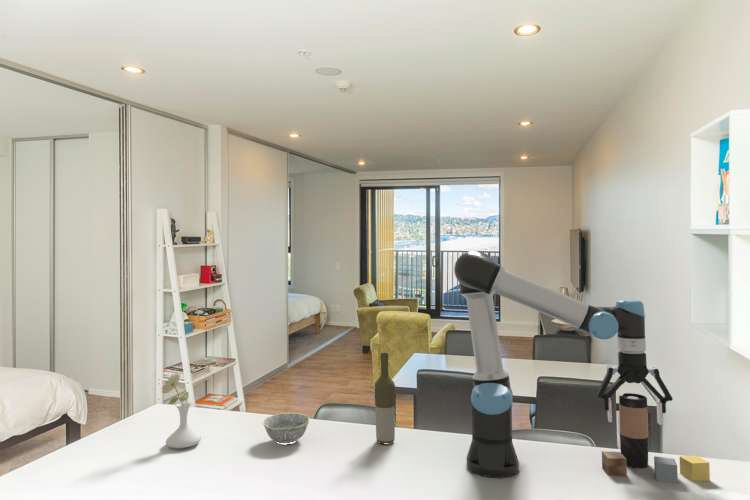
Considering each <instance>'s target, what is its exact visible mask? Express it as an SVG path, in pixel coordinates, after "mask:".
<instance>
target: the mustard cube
mask: <svg viewBox="0 0 750 500" xmlns="http://www.w3.org/2000/svg"><path fill="white" fill-rule="evenodd" d="M679 474H680V475H681V476H683V477H684V478H686V479H688V480H690V481H691V482H707V481H708V482H709V481H710V479H711V476H710V475H711V472H710V462H709V461H707V460H706V459H704V458H702V457H700V456H698V455H682V456H681V455H679Z"/></svg>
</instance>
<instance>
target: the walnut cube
mask: <svg viewBox="0 0 750 500" xmlns="http://www.w3.org/2000/svg"><path fill="white" fill-rule="evenodd" d="M601 468H602V470H603V471H604V473H605V474H606V475H607V476H608V477H609V476H610V477H628V473H627V472H628V469H627V468H628V466H627V459H626V458H625V457H624V456H623V455H622V454H621V451H606V450H605V451H603V450H602V451H601Z"/></svg>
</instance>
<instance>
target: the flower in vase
mask: <svg viewBox="0 0 750 500" xmlns="http://www.w3.org/2000/svg"><path fill="white" fill-rule="evenodd" d="M180 379H181V374H180V373H178V372H175V373H174V374H171V375H170V376H169V377H168V379H167V380H165V382H164V385H163V386H162V388H161V390H162V391H161V393H163V394H169V393H170V392H172V391H173V390H174V389H175V392H176V393H177V394H176V395H177V396H175V397H173V398H171V399H170V401H168V405H174V404H175V403H176V402H177V401H178V400H179V401H180V402H179V403H177V404H175V407H176V408H177V409H178V412H179V426H178V427H177V429H176V430H175V431H173V432H172V433H171V434H170V435H169V436H168V437H167V438H166V440H165V445H166V446H167V447H168V448H171V449H185V447H186V448H190V447H193V446H195V445H197V444H199V443H200V442H201V440H202V435H201V434H200V433H199V432H198V431H196V430H195V429H193V428H191V426H189V423H188V413H189V409H190V407H192V402H189V401H187V402H186V400H188V399H189V396H190V395H189V394H190V393H189V391H187V392H185V393H183V394H182V395H181V396H180V395H179V392H178V389H177V385H178V384H179V382H180Z"/></svg>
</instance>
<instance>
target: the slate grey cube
mask: <svg viewBox="0 0 750 500" xmlns="http://www.w3.org/2000/svg"><path fill="white" fill-rule="evenodd" d="M653 460H654V476H655V479H656V481H657V482H662V483H670V484H677V485H678V484H679V481H678V480H679V479H678V477H679V476H678V465H677V462H676V459H675V458H672V457H671V458H670V457H664V456H656V455H655V456H653Z"/></svg>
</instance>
